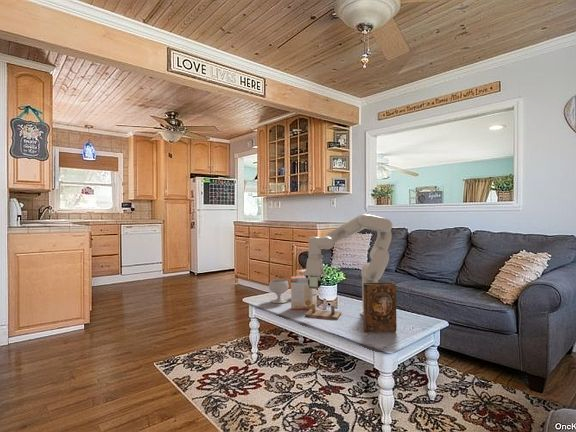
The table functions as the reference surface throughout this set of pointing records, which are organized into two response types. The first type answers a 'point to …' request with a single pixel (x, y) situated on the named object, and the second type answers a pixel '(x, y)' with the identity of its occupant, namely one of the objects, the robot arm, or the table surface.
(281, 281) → the chalice
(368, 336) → the table surface
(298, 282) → the cracker box
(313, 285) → the sleeve
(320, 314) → the pin board
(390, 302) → the book
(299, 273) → the coffeecake box
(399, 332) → the table surface
